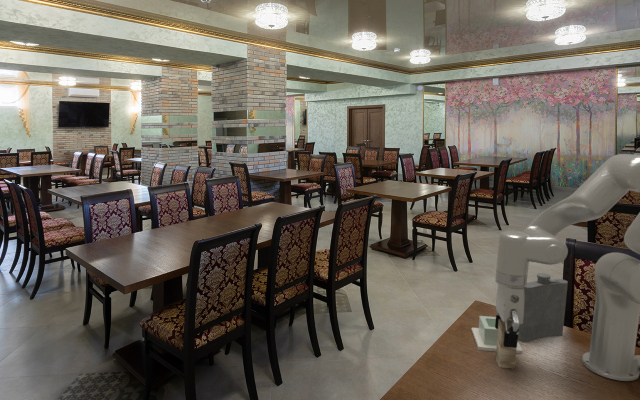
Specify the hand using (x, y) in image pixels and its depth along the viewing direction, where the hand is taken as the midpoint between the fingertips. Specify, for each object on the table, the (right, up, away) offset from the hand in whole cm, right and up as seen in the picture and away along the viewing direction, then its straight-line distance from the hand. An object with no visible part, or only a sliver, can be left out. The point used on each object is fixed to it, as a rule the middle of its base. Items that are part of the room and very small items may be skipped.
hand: (505, 337), depth 110 cm
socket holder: (+3, -6, +13) cm, 14 cm away
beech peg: (+1, -8, +1) cm, 8 cm away
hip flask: (+18, -5, +16) cm, 24 cm away
